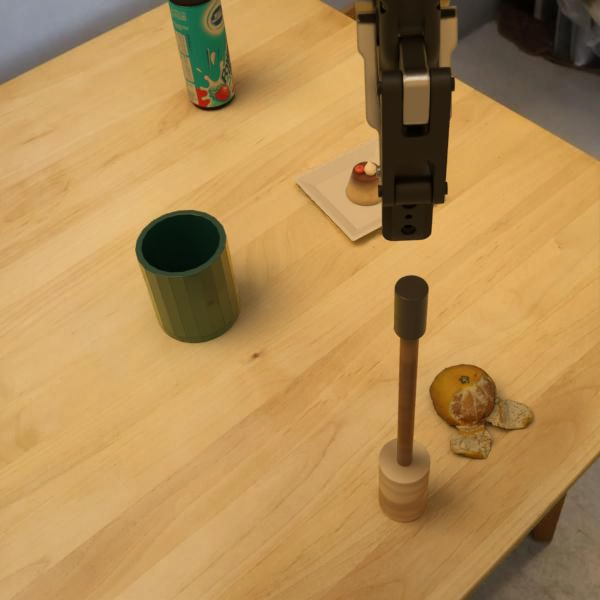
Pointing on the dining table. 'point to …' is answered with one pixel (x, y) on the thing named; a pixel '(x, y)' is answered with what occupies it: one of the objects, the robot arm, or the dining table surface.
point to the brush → (406, 411)
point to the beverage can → (203, 51)
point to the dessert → (348, 189)
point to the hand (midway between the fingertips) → (400, 171)
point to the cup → (189, 275)
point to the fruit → (474, 408)
